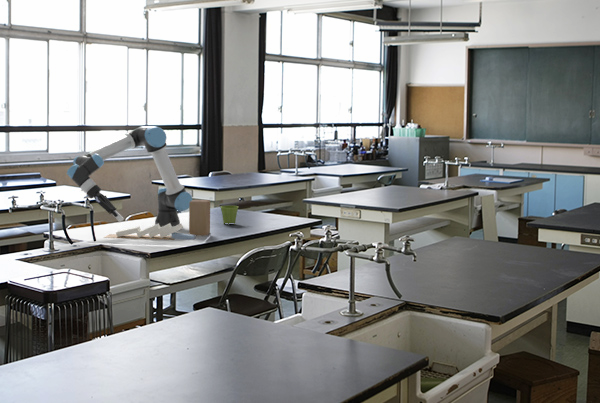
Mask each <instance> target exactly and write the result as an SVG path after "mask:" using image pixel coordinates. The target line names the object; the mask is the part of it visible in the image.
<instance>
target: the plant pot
mask: <svg viewBox="0 0 600 403" xmlns="http://www.w3.org/2000/svg"><path fill="white" fill-rule="evenodd" d="M219 207H220V211H221V215H222V223H223V224H224V223H228V224H229V223H235V224H236V220H237V216H238V214H237V213H238V209H239V206H237V205H221V206H219Z"/></svg>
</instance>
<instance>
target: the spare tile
mask: <svg viewBox="0 0 600 403" xmlns="http://www.w3.org/2000/svg"><path fill="white" fill-rule="evenodd" d="M140 231H142V230H141V227H140V225H139V226H135V227H130V228H127V229H122V230H118V231H116V232H115V234H116V235H117V237H120V236H124V235H134V234H137V233H138V232H140Z"/></svg>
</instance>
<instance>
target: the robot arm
mask: <svg viewBox="0 0 600 403" xmlns="http://www.w3.org/2000/svg"><path fill="white" fill-rule="evenodd" d="M166 140H167V134H166V132H165V131H164V130H163V128H161V127H159V126H154V125H151V126H149V125H142V126H139V127H137V128H135V129H133V130H131V131H128V132H126V133H125V134H124V136H122V137H120V138H118V139H115V140H114V141H113V140H112V141H111V142H109V143H107V144H105V145H103V146H101V147H98V148H96V149H93V150H92V151H90V152H88V153H86V154H83V155H77V156H76V157H74V158H73V161H72V163H73V165H71V166H70V167H69V168H68V169H67V171H66V175H68V177H69V178H70V179H71V180H72V181H73V182H74V183H75V184H76V185H77V187H79V188H80V189H81V190H80V191H81V192H84V193H85V194H86V195H87V196H88V198H89V199H93V198H94V199H95V203H96V204H98V205H99V206H100V207H101V208H102V209H104V210H105V211H106V213H109V215H112V216H113V217H114V218H115V219H116V220H117V221H118V222H119V223H121V222H122V221H124V219H125V218H124V217H123V215H122V214H120V213H119V212H118V211H117V207H115V205H114V204H113V203H112V202H111V200H110V199H108V197H107V195H104V194H102V193H101V191H102V188H101V187H100V186H99V185H98V184H96V182H95V181H94V180H93V178H91V177H90V176H91V175H92V174H94V173H95V172H96V171H98V170H99V169H100V168H102V166H103V165H104V164H105V161H106V160H108V159H110V158H112V157H114V156H117V155H120V153H123V152H125V151H126V150H127V151H128V150H129V149H135V148H138V147H145V149H146V151H147V153H149V154H151V157H152V159H153V161H154V163H155V166H156V168H157V170H158V173H159V175H160V177H161V179H162V181H163V184H164V186H165V187H162V188H159V189H158V190H157V213H156V214H157V215H156V217H155V219H154V225H156V224H158V223H159V225H160V227H163V226H165V225H167V224H169V223H170V224H171V226H172V227H174V226H176V225H178V224H181V221H180V217H179V213H178V212H185V211H187V210H189V203H190V201H192V200H193V197H192V194H191V193H189V192H188V191H187V190H186V188H185V185H183V184H181V183H180V180H179V178H178V176H177V173H176V171H175V168H174V165H173V163H172V162H171V159H170V156H169V154H168V152H167V149H166V148H167V143H166V142H167V141H166Z"/></svg>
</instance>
